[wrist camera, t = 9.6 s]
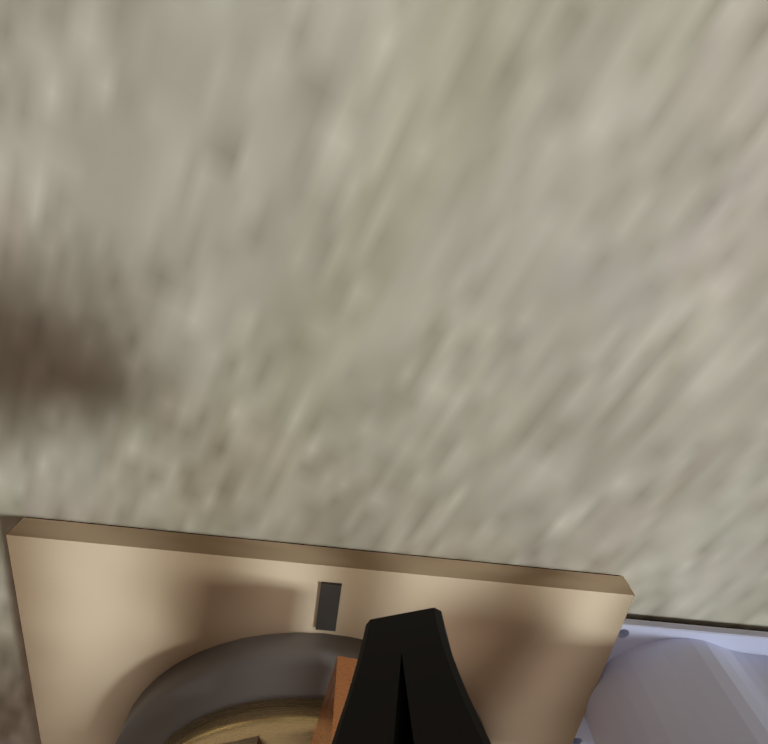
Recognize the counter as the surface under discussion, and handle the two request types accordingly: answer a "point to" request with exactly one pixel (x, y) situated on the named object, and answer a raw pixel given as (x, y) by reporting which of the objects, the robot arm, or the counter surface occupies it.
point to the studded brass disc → (275, 717)
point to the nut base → (285, 628)
